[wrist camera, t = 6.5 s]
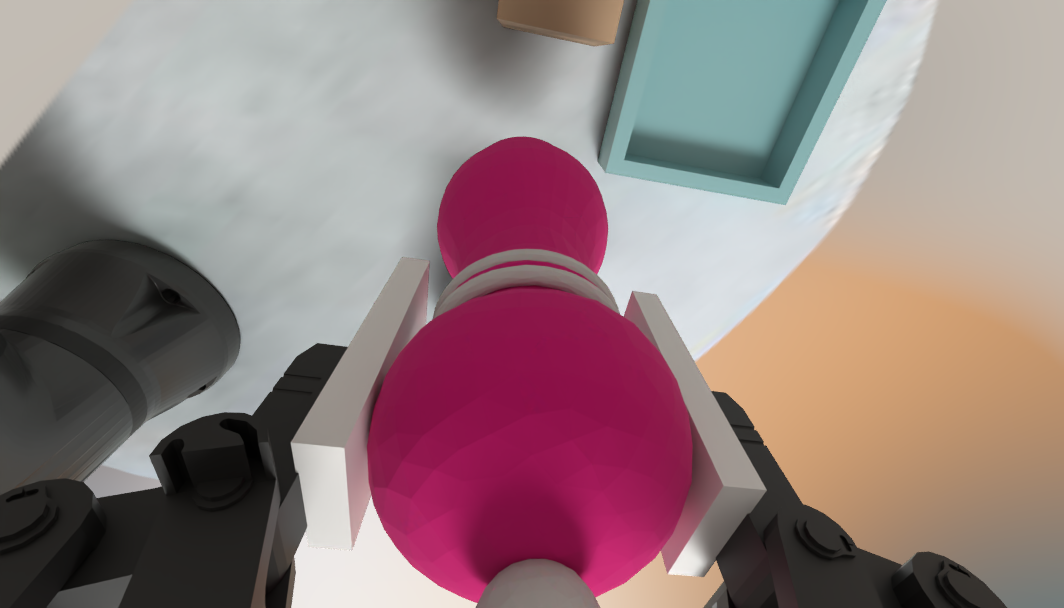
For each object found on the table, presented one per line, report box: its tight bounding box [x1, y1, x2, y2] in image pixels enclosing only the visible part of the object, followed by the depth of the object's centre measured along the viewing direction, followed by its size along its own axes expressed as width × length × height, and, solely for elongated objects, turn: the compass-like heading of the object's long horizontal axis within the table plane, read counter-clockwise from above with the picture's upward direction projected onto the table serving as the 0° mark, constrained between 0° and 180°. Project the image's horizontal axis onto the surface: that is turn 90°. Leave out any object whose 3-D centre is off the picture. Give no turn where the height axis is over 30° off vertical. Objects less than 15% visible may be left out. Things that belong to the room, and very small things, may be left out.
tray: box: [598, 0, 887, 205], centre depth 27 cm, size 13×13×4 cm
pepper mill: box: [367, 137, 693, 608], centre depth 13 cm, size 7×7×20 cm
